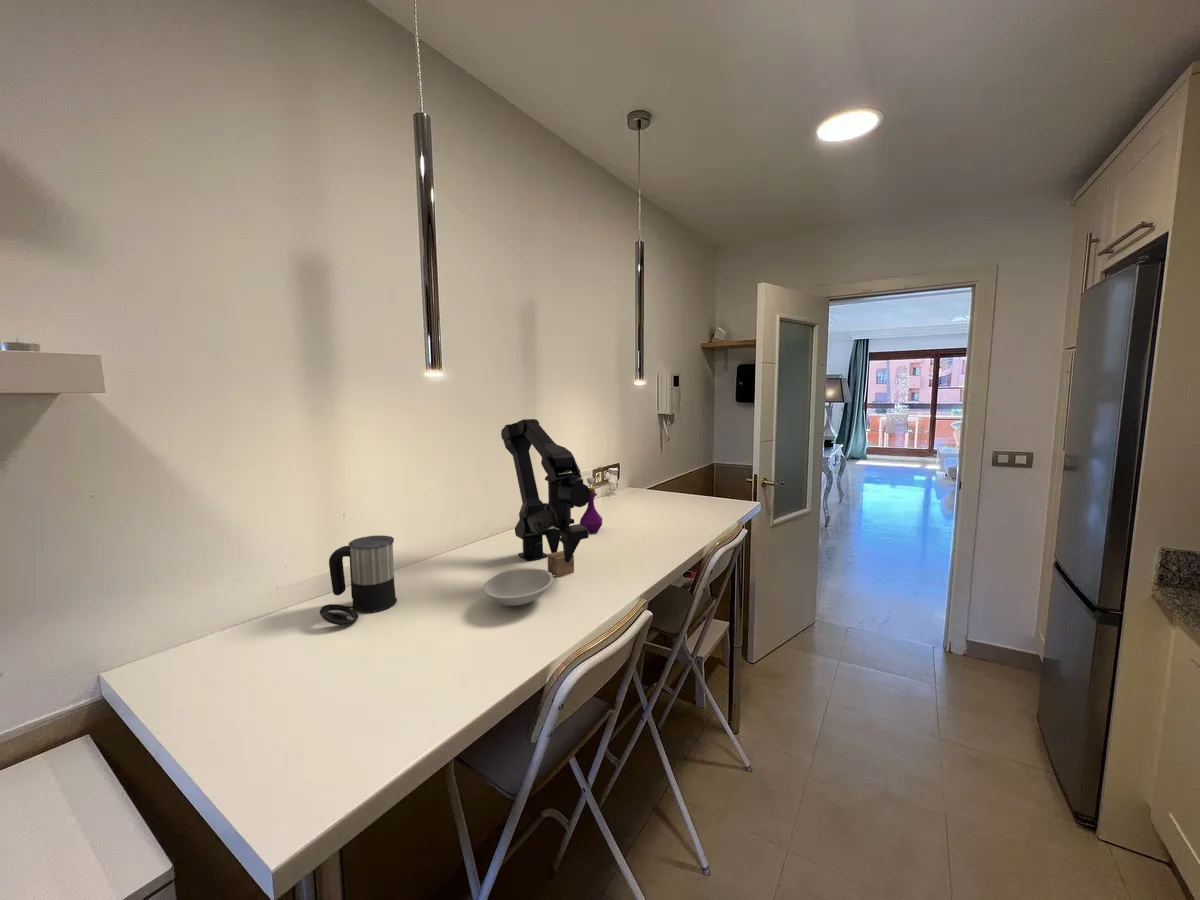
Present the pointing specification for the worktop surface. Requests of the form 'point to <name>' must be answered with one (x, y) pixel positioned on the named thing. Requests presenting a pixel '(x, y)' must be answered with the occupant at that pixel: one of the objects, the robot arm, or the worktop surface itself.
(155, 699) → the worktop surface
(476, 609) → the worktop surface
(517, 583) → the dish
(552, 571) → the walnut block
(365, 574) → the milk frother
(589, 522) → the perfume bottle
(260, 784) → the worktop surface
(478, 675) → the worktop surface
